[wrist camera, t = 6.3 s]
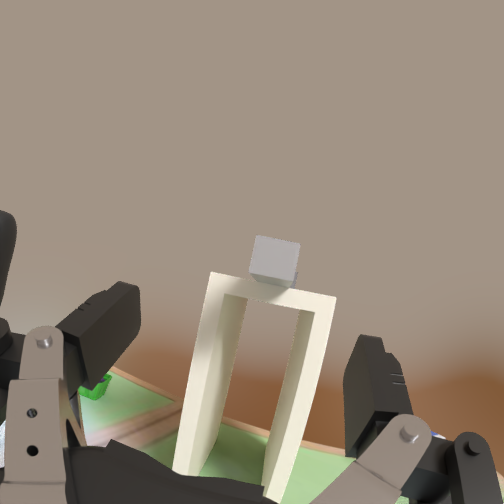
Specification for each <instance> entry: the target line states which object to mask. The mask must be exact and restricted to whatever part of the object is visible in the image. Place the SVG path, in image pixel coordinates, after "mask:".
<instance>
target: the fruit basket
mask: <svg viewBox="0 0 504 504" xmlns="http://www.w3.org/2000/svg"><path fill="white" fill-rule="evenodd" d="M111 378H112V376H111V375H108V374H105V376H104V377H103V378H102V379H101V381H100V382H99V383H98V384H97V386H96V387H95V388H94V389H93V391H91V390H88V389H86V388H84V387H82V386H80V387H79V388H78V391H79V394H80V395H83V396H85V397H88V398H90V399H92V400H96V399H98V398H100V397H101V396H102V395H104V393H105V391H106V388H107V386H108V384H109V381H110V380H111Z"/></svg>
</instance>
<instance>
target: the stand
mask: <svg viewBox="0 0 504 504" xmlns="http://www.w3.org/2000/svg"><path fill="white" fill-rule="evenodd" d="M248 299H253V300H258V301H262V302H267V303H272V304H277V305H282V306H287V307H292V308H297V309H300V311H299V316H298V320H297V325H296V330H295V334H294V338H293V343H292V347H291V352H290V356H289V360H288V364H287V369H286V373H285V377H284V381H283V385H282V389H281V393H280V397H279V401H278V405H277V409H276V413H275V417H274V420H273V424H272V428H271V431H270V435H269V439H268V442H267V446H266V449H265V457H264V466H263V474H262V482H261V486H265V487H264V492H263V496H264V497H267V498H269V499H271V500H273V501H275V502H277V503H279V504H280V502H281V499H282V497H283V494H284V491H285V488H286V485H287V482H288V480H289V477H290V474H291V471H292V468H293V465H294V462H295V458H296V455H297V452H298V449H299V446H300V443H301V439H302V436H303V432H304V429H305V426H306V422H307V419H308V415H309V412H310V408H311V405H312V401H313V397H314V393H315V390H316V385H317V382H318V378H319V374H320V370H321V366H322V362H323V358H324V354H325V349H326V345H327V341H328V336H329V332H330V327H331V322H332V317H333V312H334V308H335V302H336V297H332V296H327V295H322V294H316V293H312V292H307V291H301V290H297V289H292V288H287V287H282V286H277V285H272V284H267V283H262V282H257V281H252V280H248V279H243V278H238V277H233V276H228V275H224V274H219V273H214V272H211V274H210V278H209V283H208V287H207V292H206V297H205V301H204V306H203V310H202V315H201V320H200V324H199V329H198V334H197V339H196V343H195V349H194V353H193V358H192V363H191V368H190V373H189V378H188V384H187V389H186V394H185V399H184V405H183V410H182V415H181V421H180V426H179V432H178V438H177V443H176V449H175V455H174V461H173V467H172V470H173V471H175V472H176V473H178V474H181V475H188V476H198V475H199V473H200V471H201V469H202V468H203V466H204V464H205V462H206V460H207V458H208V456H209V454H210V452H211V450H212V448H213V446H214V444H215V442H216V440H217V437H218V433H219V428H220V424H221V419H222V415H223V410H224V405H225V401H226V397H227V392H228V387H229V382H230V378H231V374H232V369H233V365H234V360H235V356H236V351H237V346H238V342H239V337H240V333H241V328H242V323H243V319H244V314H245V309H246V305H247V301H248Z"/></svg>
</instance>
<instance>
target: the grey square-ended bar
mask: <svg viewBox="0 0 504 504" xmlns="http://www.w3.org/2000/svg"><path fill="white" fill-rule="evenodd" d="M300 245H301V244H300V243H295V242H289V241H284V240H280V239H275V238H269V237H265V236H259V235H257V236H256V240H255V245H254V250H253V254H252V259H251V263H250V268H249V273H250V274H251V275H252V277H253V278H254V279H255V280H256V281H257V282H262V283H267V284H272V285H277V286H282V287H287V288H292V289H294V288H295V284H296V279H297V274H298V273H297V272H295V270H296V265H297V260H298V255H299V250H300Z"/></svg>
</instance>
